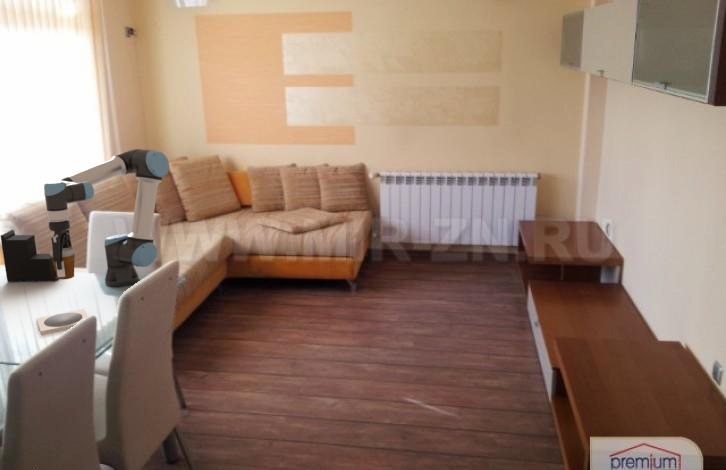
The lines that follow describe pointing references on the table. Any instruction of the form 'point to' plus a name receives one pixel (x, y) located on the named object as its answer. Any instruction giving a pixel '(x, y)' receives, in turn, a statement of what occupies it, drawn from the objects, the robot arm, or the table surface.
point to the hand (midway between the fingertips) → (65, 273)
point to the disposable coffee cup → (66, 262)
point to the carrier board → (60, 321)
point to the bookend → (25, 259)
